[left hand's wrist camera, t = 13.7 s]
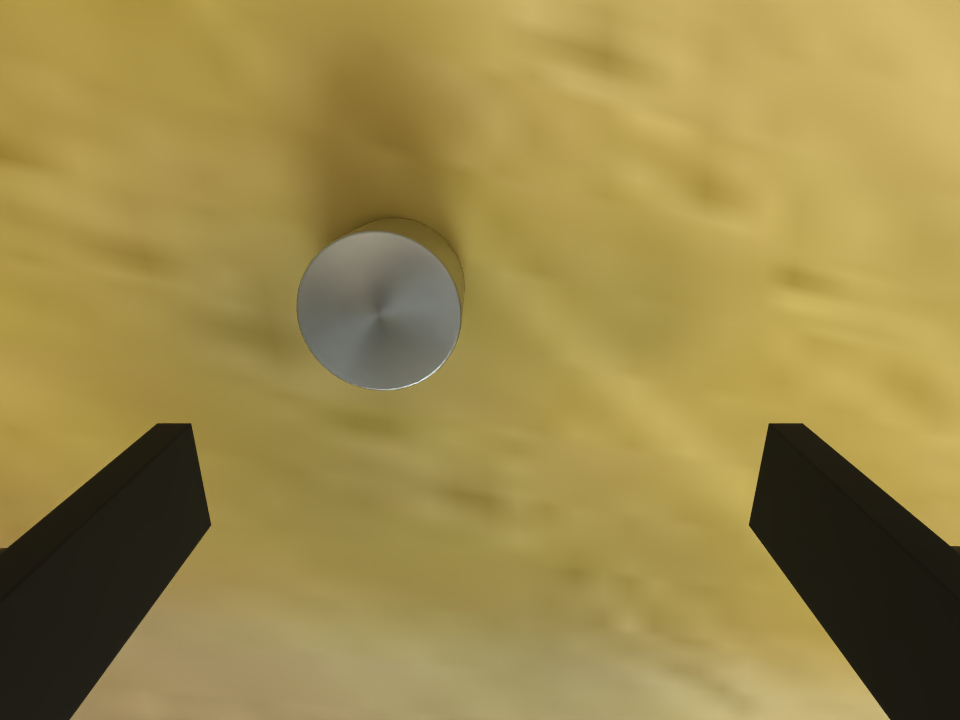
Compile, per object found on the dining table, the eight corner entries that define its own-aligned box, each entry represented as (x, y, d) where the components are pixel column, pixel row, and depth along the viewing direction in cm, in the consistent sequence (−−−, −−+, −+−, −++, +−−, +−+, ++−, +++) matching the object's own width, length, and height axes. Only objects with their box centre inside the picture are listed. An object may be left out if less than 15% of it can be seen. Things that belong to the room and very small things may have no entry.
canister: (490, 303, 21) (494, 334, 17) (385, 373, 22) (365, 419, 18) (411, 189, 19) (394, 194, 16) (302, 269, 20) (261, 293, 16)
